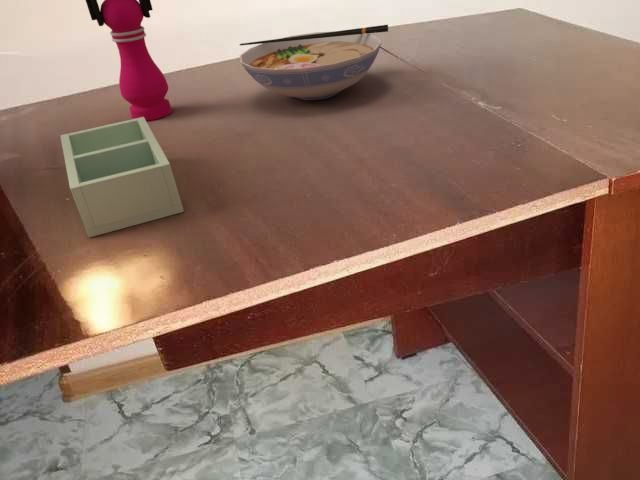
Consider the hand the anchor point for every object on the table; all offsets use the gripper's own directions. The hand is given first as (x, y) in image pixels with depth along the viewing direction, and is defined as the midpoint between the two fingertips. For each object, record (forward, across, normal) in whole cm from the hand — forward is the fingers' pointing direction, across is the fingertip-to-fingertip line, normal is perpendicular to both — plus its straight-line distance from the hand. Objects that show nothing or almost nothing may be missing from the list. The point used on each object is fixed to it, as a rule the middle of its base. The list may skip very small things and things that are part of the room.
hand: (123, 19), depth 106 cm
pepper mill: (+15, 0, 0) cm, 15 cm away
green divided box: (+15, +8, +31) cm, 35 cm away
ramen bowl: (+15, -26, +9) cm, 31 cm away
